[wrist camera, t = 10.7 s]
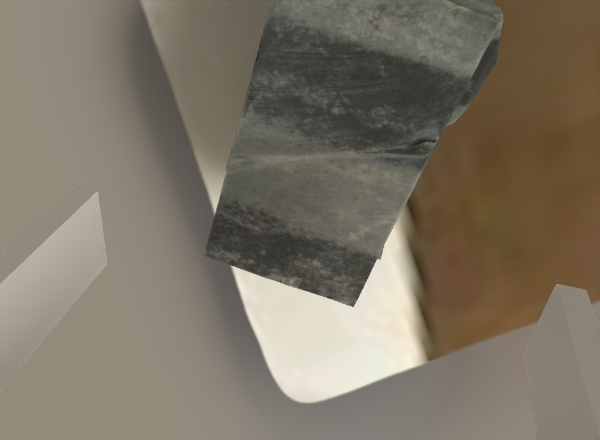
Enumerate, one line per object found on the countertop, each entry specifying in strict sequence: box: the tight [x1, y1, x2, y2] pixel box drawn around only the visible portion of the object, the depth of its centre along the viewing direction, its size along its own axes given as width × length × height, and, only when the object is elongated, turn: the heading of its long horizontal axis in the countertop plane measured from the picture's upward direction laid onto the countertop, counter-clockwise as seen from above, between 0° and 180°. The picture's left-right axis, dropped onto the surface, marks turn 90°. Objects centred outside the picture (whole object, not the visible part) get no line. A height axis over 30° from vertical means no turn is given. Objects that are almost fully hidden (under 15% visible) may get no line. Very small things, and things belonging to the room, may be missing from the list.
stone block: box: [205, 0, 504, 307], centre depth 24 cm, size 9×14×5 cm, turn 163°
